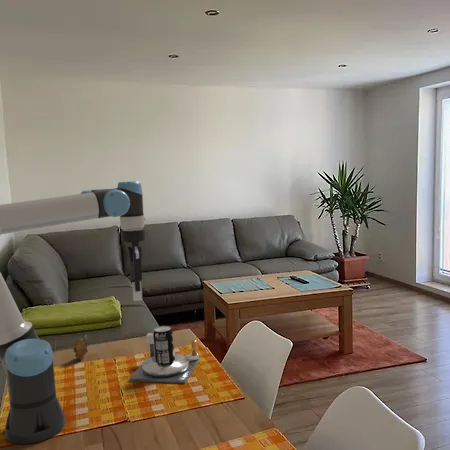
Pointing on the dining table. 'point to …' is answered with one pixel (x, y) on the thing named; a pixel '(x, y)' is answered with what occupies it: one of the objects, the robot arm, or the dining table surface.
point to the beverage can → (164, 345)
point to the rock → (80, 348)
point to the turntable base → (176, 378)
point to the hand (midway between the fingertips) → (137, 300)
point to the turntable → (174, 368)
